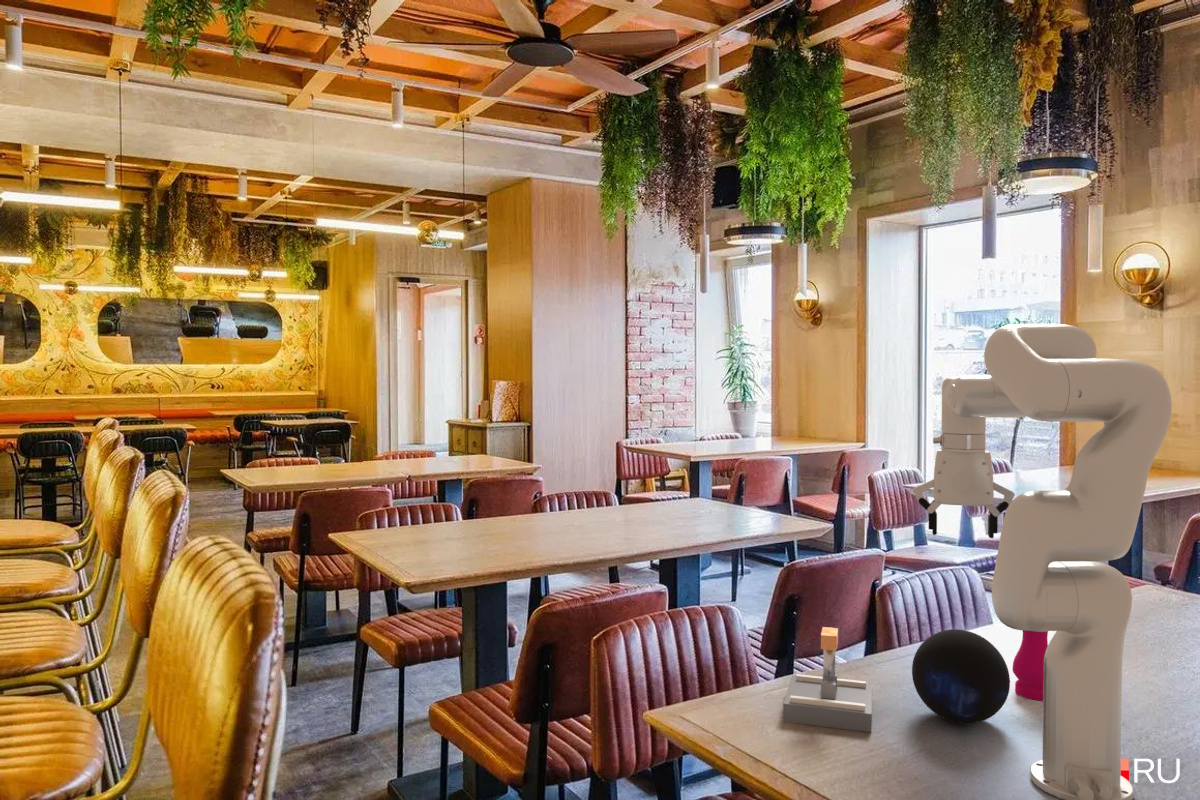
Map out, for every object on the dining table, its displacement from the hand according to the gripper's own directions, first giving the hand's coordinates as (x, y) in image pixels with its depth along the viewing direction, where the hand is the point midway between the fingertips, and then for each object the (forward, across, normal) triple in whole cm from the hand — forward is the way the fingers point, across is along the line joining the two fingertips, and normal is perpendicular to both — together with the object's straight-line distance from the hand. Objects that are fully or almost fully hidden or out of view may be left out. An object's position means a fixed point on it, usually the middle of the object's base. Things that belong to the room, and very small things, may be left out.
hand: (962, 535), depth 157 cm
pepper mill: (+28, +12, +1) cm, 31 cm away
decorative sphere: (+29, -1, -17) cm, 33 cm away
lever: (+24, -22, -21) cm, 39 cm away
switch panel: (+28, -22, -21) cm, 41 cm away
